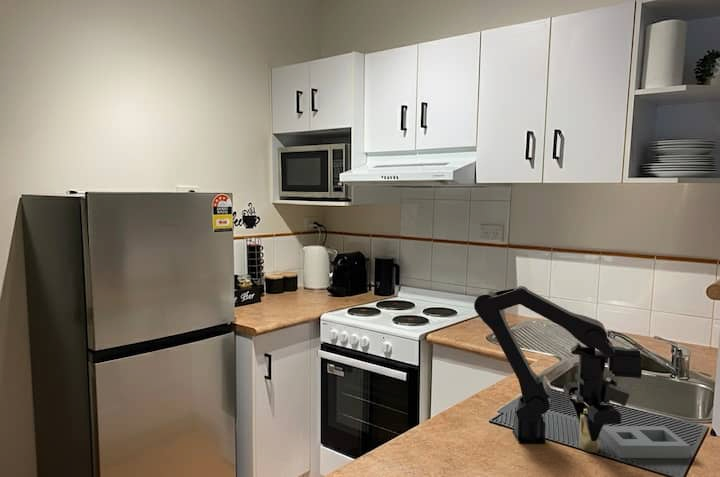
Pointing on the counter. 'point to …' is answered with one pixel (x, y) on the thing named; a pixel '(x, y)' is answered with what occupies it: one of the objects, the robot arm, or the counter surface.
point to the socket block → (644, 442)
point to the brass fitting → (586, 435)
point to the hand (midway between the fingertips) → (589, 436)
